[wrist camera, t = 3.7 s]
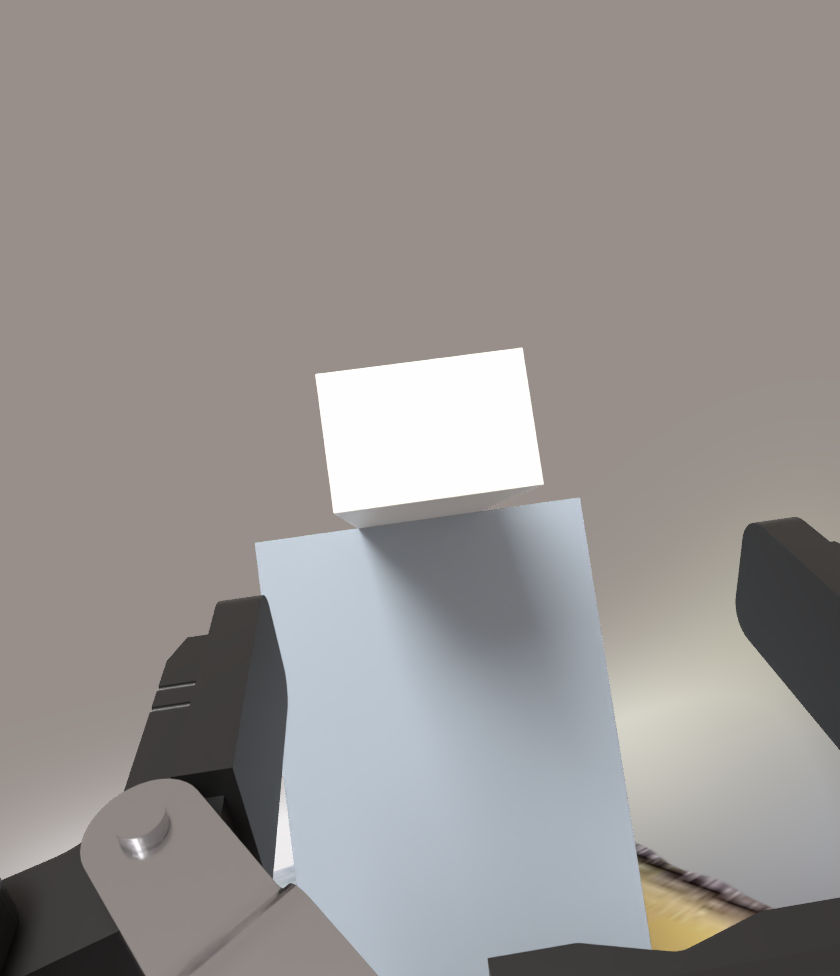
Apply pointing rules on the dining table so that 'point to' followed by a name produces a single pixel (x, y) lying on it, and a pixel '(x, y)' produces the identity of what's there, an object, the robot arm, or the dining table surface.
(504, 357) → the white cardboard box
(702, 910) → the dining table surface
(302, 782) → the post
